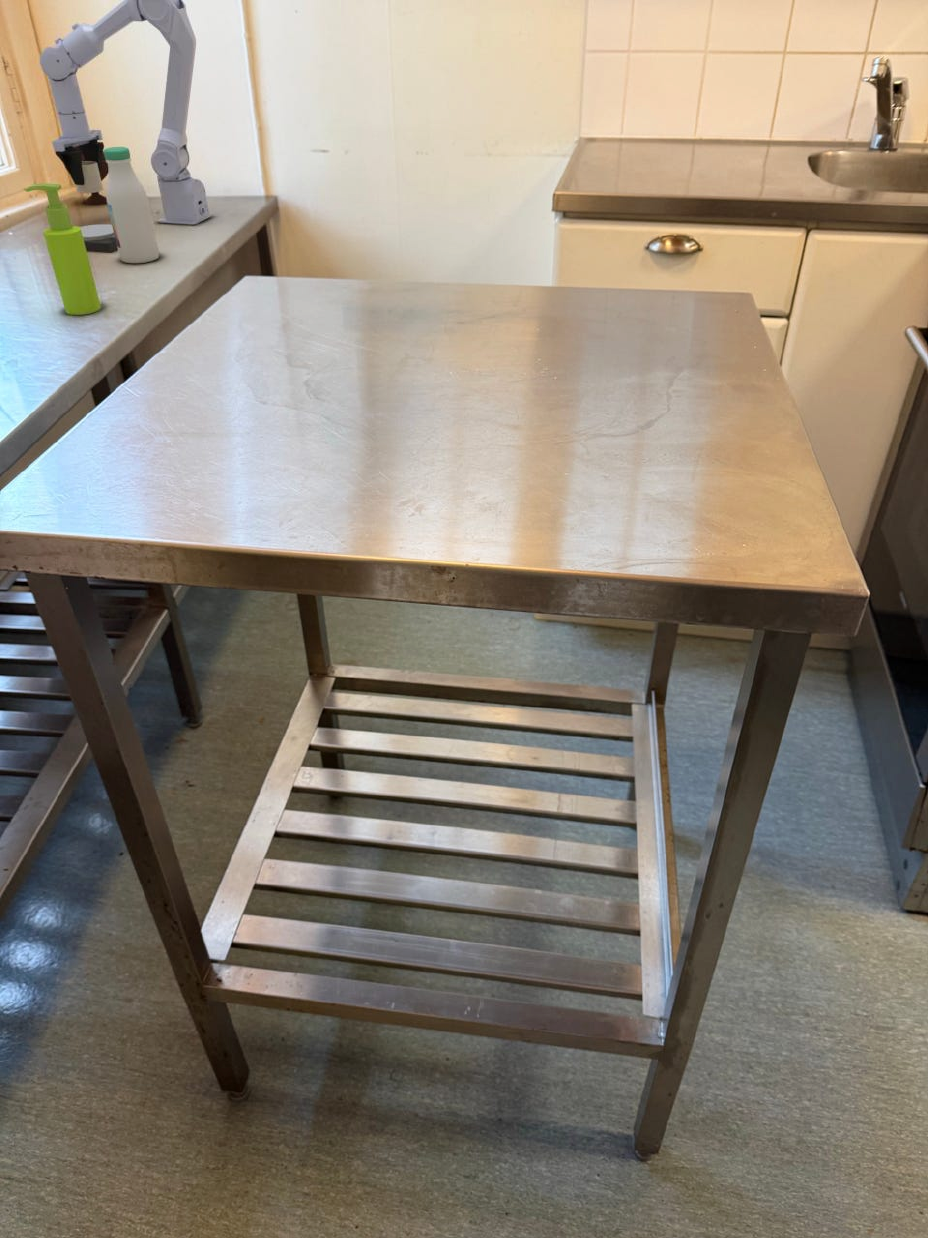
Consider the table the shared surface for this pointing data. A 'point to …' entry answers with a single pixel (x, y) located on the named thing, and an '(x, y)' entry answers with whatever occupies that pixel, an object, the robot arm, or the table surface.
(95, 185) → the light grey cup
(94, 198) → the ice cream bowl
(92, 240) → the scale
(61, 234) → the soap dispenser
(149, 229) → the milk bottle
